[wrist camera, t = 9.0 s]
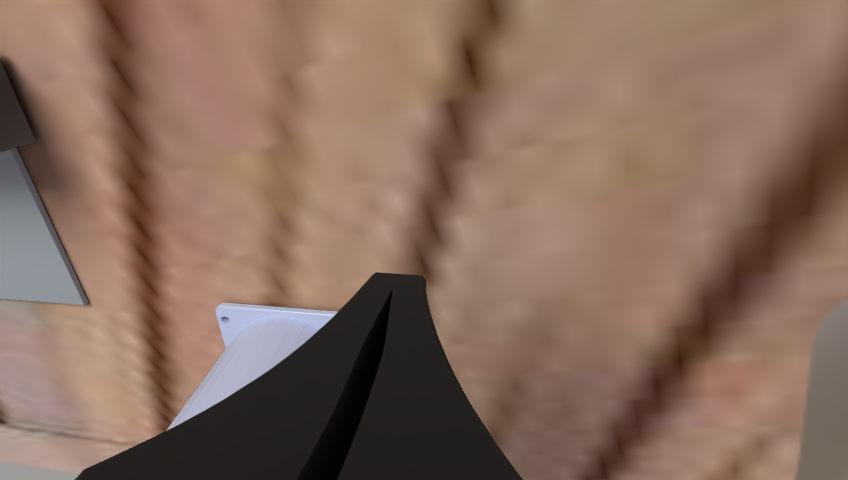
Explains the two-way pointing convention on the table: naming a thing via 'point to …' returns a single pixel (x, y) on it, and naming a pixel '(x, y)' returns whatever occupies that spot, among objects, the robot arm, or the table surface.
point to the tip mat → (30, 242)
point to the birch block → (12, 118)
